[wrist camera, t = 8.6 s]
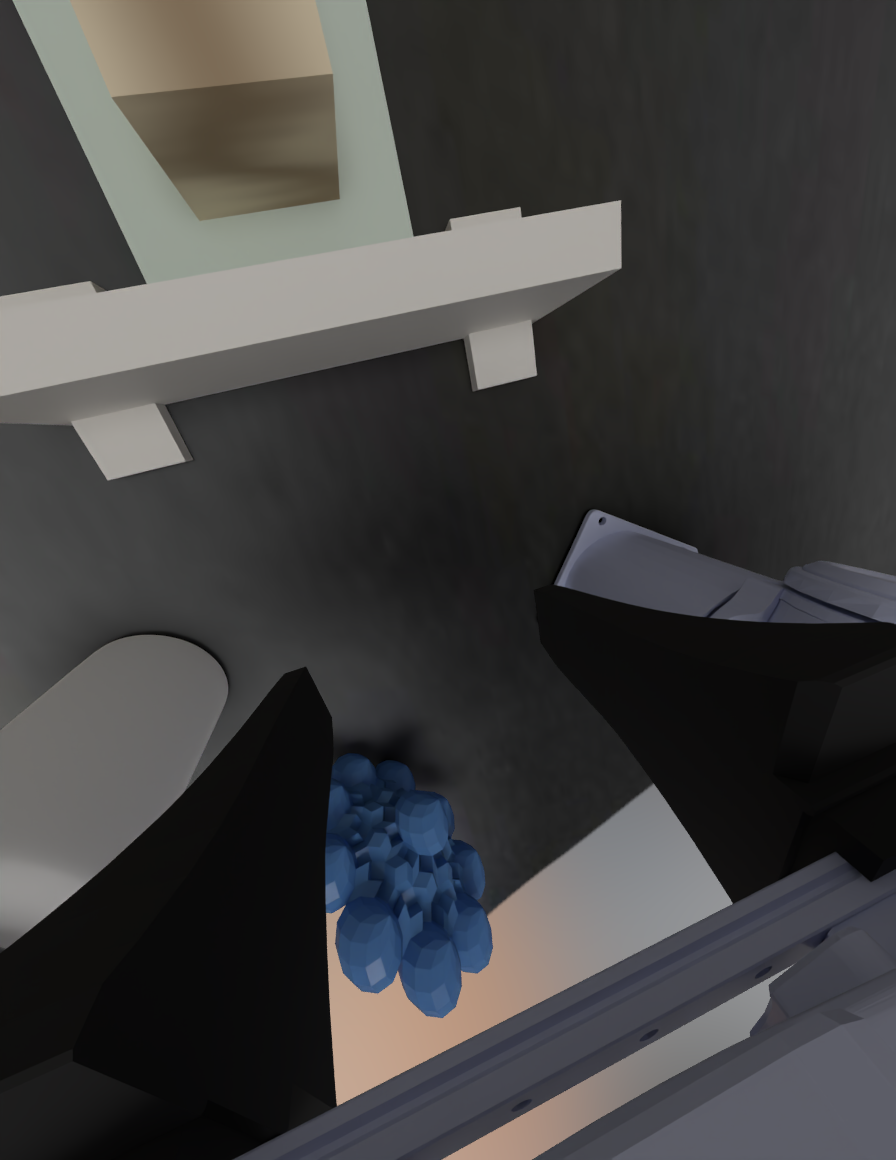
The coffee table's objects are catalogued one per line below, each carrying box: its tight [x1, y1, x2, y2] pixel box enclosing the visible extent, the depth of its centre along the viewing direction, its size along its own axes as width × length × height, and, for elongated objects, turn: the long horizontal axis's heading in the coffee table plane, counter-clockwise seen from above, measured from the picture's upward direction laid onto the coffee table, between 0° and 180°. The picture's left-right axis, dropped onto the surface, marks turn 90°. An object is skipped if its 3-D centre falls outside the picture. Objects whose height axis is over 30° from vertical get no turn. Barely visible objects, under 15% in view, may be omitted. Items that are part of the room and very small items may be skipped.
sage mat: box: [13, 0, 413, 284], centre depth 12 cm, size 10×10×1 cm
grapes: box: [325, 753, 493, 1018], centre depth 19 cm, size 12×7×12 cm, turn 55°
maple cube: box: [70, 0, 340, 221], centre depth 9 cm, size 5×5×5 cm
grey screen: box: [0, 200, 621, 480], centre depth 12 cm, size 20×6×6 cm, turn 103°
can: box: [0, 635, 228, 953], centre depth 13 cm, size 6×6×12 cm
